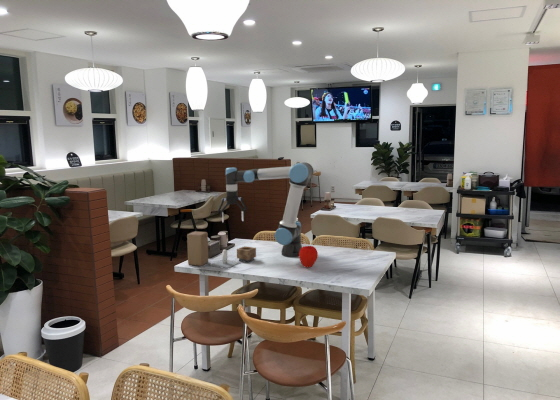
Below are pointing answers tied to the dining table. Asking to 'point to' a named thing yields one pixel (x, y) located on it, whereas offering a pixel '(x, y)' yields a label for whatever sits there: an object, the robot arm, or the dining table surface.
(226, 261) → the hub
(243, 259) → the stand
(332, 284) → the dining table surface
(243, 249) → the collar
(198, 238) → the wooden block
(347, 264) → the dining table surface
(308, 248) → the apple
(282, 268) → the dining table surface
